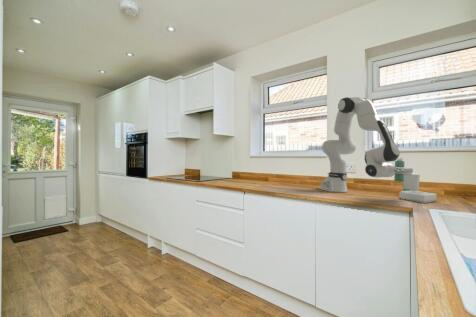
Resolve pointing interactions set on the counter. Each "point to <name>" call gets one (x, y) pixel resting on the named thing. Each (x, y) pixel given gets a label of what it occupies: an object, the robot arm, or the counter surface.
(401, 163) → the green bottle
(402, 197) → the tray
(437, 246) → the counter surface
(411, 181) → the skincare box
